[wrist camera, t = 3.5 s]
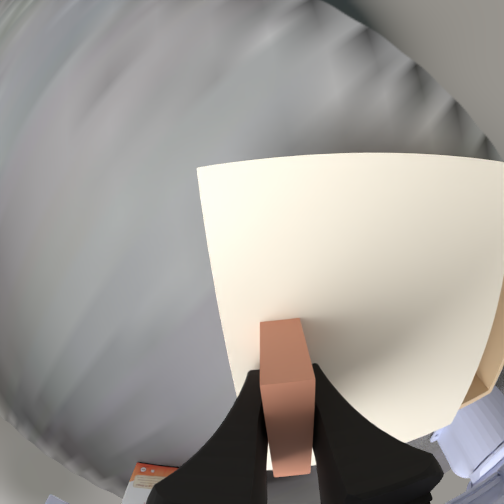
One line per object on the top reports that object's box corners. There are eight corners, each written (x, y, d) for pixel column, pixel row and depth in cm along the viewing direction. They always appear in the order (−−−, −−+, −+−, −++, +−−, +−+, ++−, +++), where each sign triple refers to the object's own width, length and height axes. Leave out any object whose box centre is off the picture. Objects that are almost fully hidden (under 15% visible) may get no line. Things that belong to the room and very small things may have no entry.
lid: (447, 418, 13) (469, 454, 9) (255, 463, 14) (254, 513, 10) (501, 162, 8) (559, 168, 4) (200, 168, 9) (160, 163, 5)
